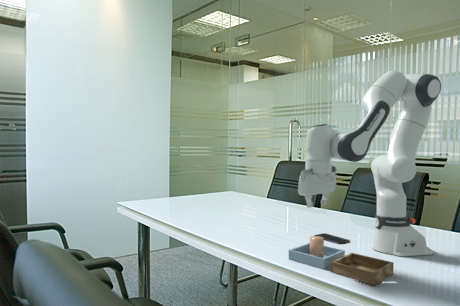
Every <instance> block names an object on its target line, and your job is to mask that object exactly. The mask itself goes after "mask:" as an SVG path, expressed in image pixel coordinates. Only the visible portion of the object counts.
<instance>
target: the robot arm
mask: <svg viewBox="0 0 460 306" xmlns="http://www.w3.org/2000/svg"><path fill="white" fill-rule="evenodd" d="M441 90H442V83H441V80H440V78H439V77H438V76H436V75H434V74H429V73H424V74H423V73H406V74H403V73H402V72H401V71H397V70H389V71H386V72H385V73H384V74H382V75H381V76H380V77H379V78H378V79H376V81H375V82H373V84H371V86H370V87H369V88H368V89H367V90H366V92H365V93H364V95H363V96H362V99H361V108H362V109H363V110H364V112H365V113H366V115H365V117H364V119H362V121H361V122H360V124H359V126H357V128H356V129H355V130H353V131H351V132H348V133H347V132H346V133H342V132H339V131H337V130H335V129H334V128H333V127H331V126H330V125H329V124H328V123H322V124H314V125H312V126H309V128H308V129H307V131H306V137H305V138H306V139H305V151H306V156H305V169H303V170H302V171H301V172H300V175H299V179H298V186H297V193H298V195H299V196H304V199H305V201H306V207H307V208H309V209H310V208H313V207H314V202H313V201H312V198H313V196H314V195H315V196H316V195H319V194H320V195H322V196H321V199H320V204H321V205H324V206H325V205H327V203H328V198H329V196H330V193H332V192H335V190H336V184H337V183H336V182H337V176H336V173H337V172H338V171H337V167H336V166H335V165H333V164H332V163H331V159H334V160H339V161H341V160H342V161H347V162H351V163H357V162H360V161H362V160H363V159H364V158H365V157H366V156H367V155H368V153H369V150H370V147H371V145H372V142H373V140H374V138H375V137H376V135H377V134H378V132H379V131H380V130H381V128H382V126H383V125H384V123H385V122H386V120H387V118H388V117H389V115H390V112H391V110H392V108H393V107H394V106H395V104H396V103H397V102H402V103H403V108H402V109H401V111H400V113H399V114H398V117H397V118H396V122H395V123H394V127H393V129H392V130H391V133H390V135H389V146H388V152H387V154H381V155H379V156H376V157H375V158H374V159H373V160H371V161H372V162H371V165H370V169H371V172H372V175H373V180H374V181H373V183H374V188H375V190H376V191H375V192H376V214H375V215H374V216H375V218H374V227H375V232H374V238H373V242H372V245H371V248H372V249H373V250H375V251H377V252H380V253H384V254H389V255H394V256H397V257H413V256H415V257H416V256H431V255H434V250H433V249H431V248H430V247H428V246H427V240H426V238H425V236H424V235H423V234H422V233H420V232H419V231H418V230H417V229H416V228H414V227H413V225H414V224H415V222H416V219H415V218H413V217H409V216H407V196H406V193H405V191H404V187H403V183H407V182H410V181H412V180H413V179H414V177H415V176H416V174H417V166H416V158H417V157H416V156H417V153H418V147H419V144H420V142H421V140H422V139H423V135H424V132H425V130H426V129H427V126H428V123H429V120H430V117H431V111H432V104H433V103H434V102H435V101H436V100H437V99H438V97H439V95H440V94H441ZM411 224H413V225H412V226H411Z"/></svg>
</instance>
